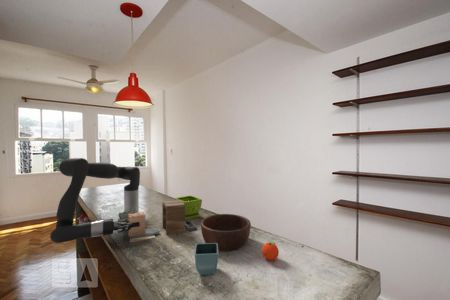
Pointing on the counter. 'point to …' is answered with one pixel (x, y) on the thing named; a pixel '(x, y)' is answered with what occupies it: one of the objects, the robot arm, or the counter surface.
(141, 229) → the tall wood-grain block
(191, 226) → the pit tray
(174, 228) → the tunnel
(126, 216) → the food container
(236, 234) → the wooden bowl
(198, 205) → the flower pot
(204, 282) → the counter surface
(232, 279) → the counter surface
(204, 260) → the flower pot
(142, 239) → the pad
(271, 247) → the clementine
